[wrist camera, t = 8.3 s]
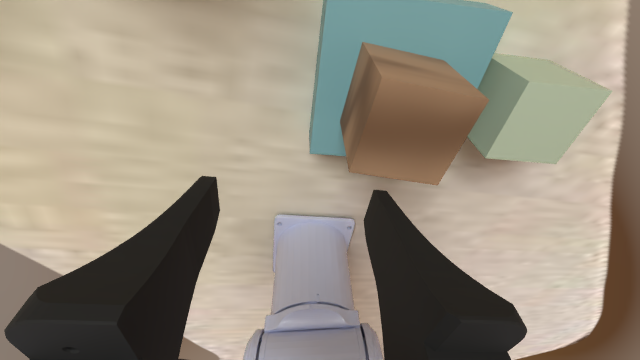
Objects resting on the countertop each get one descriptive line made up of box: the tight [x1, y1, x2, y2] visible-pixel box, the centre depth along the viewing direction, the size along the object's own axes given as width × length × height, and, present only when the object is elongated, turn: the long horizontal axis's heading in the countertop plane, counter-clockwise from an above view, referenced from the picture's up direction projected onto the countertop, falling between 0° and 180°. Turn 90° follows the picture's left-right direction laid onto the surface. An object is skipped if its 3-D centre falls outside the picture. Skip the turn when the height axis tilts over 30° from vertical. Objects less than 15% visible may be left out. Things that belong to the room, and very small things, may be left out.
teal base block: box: [309, 0, 513, 156], centre depth 20 cm, size 10×10×4 cm
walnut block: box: [340, 42, 489, 185], centre depth 16 cm, size 5×5×6 cm
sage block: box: [467, 53, 612, 164], centre depth 20 cm, size 5×5×6 cm
